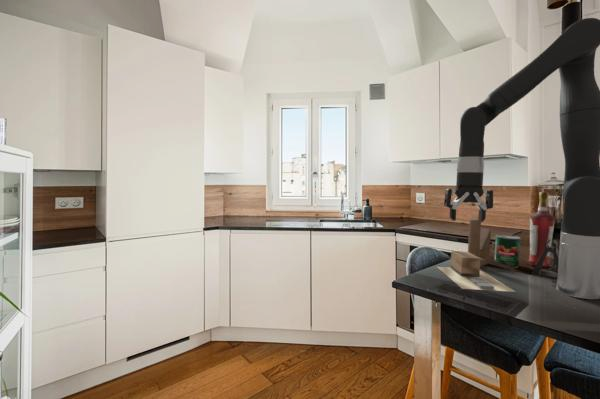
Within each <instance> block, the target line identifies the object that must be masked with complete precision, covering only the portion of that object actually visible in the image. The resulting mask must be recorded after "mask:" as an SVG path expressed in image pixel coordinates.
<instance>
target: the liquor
mask: <svg viewBox="0 0 600 399" xmlns="http://www.w3.org/2000/svg"><path fill="white" fill-rule="evenodd" d="M538 197H539V203H538V208H537V212H535V213H532V214H530V215H529V257H528V258H529V259H528V260H527V262H528V263H529V264H530V265H531V266H533V267H535V266H536V265H537V263H538V261H539V259H540V258H541V256H542V254H543V252H544V251H545V244H546V242H547V241H548V240H549V239H551V241H550V242H549V243H547V244H548V245H549V247H551V248H552V242H553V234H554V229H555V221H556V220H555V219H556V216H554V215H553V214H551V213H549V212H548V210H549V209H548V199H549V192H548V191H540V192H539V193H538ZM550 257H551V252H548V253H547V256H546V258H545V260H544V263H543V265H542V267H541V269H542V268H544V269H545V268H548V267H549V266H551V262H550V259H551V258H550Z"/></svg>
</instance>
